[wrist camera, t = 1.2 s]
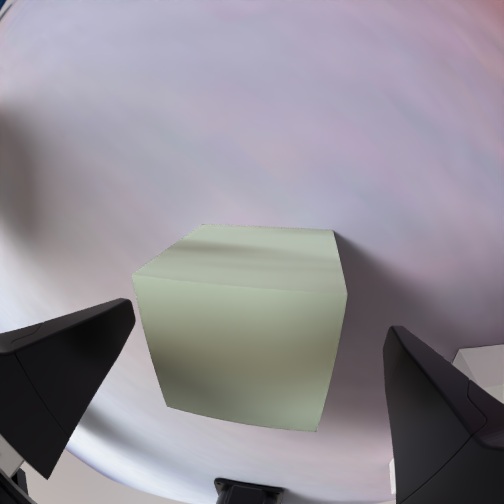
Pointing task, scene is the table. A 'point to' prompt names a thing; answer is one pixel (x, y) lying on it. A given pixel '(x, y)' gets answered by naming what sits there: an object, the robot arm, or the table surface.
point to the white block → (476, 376)
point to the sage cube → (245, 322)
